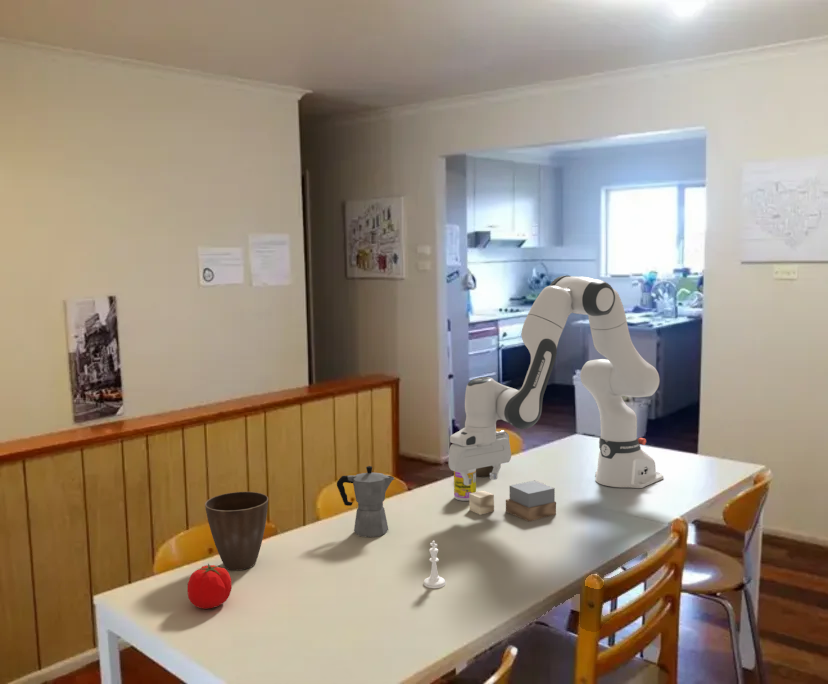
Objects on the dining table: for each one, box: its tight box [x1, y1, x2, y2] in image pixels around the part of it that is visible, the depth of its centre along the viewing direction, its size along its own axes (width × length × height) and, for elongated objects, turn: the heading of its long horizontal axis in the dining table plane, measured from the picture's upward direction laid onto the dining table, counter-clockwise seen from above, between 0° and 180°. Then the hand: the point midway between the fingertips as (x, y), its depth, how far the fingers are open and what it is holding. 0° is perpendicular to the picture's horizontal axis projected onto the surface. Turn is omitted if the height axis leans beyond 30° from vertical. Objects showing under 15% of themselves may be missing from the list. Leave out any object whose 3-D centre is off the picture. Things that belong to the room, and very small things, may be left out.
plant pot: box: [204, 491, 269, 571], centre depth 187 cm, size 15×15×16 cm
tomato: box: [186, 563, 233, 609], centre depth 167 cm, size 9×10×8 cm
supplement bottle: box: [453, 469, 477, 502], centre depth 234 cm, size 7×7×13 cm
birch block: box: [468, 490, 495, 516], centre depth 223 cm, size 5×5×5 cm
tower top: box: [509, 480, 556, 508], centre depth 219 cm, size 9×9×4 cm
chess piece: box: [423, 540, 447, 589], centre depth 174 cm, size 5×5×10 cm
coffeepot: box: [336, 465, 395, 538], centre depth 207 cm, size 15×9×18 cm, turn 92°
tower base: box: [505, 498, 557, 522], centre depth 220 cm, size 10×10×4 cm
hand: (480, 482), depth 222 cm, fingers open, 8 cm apart
